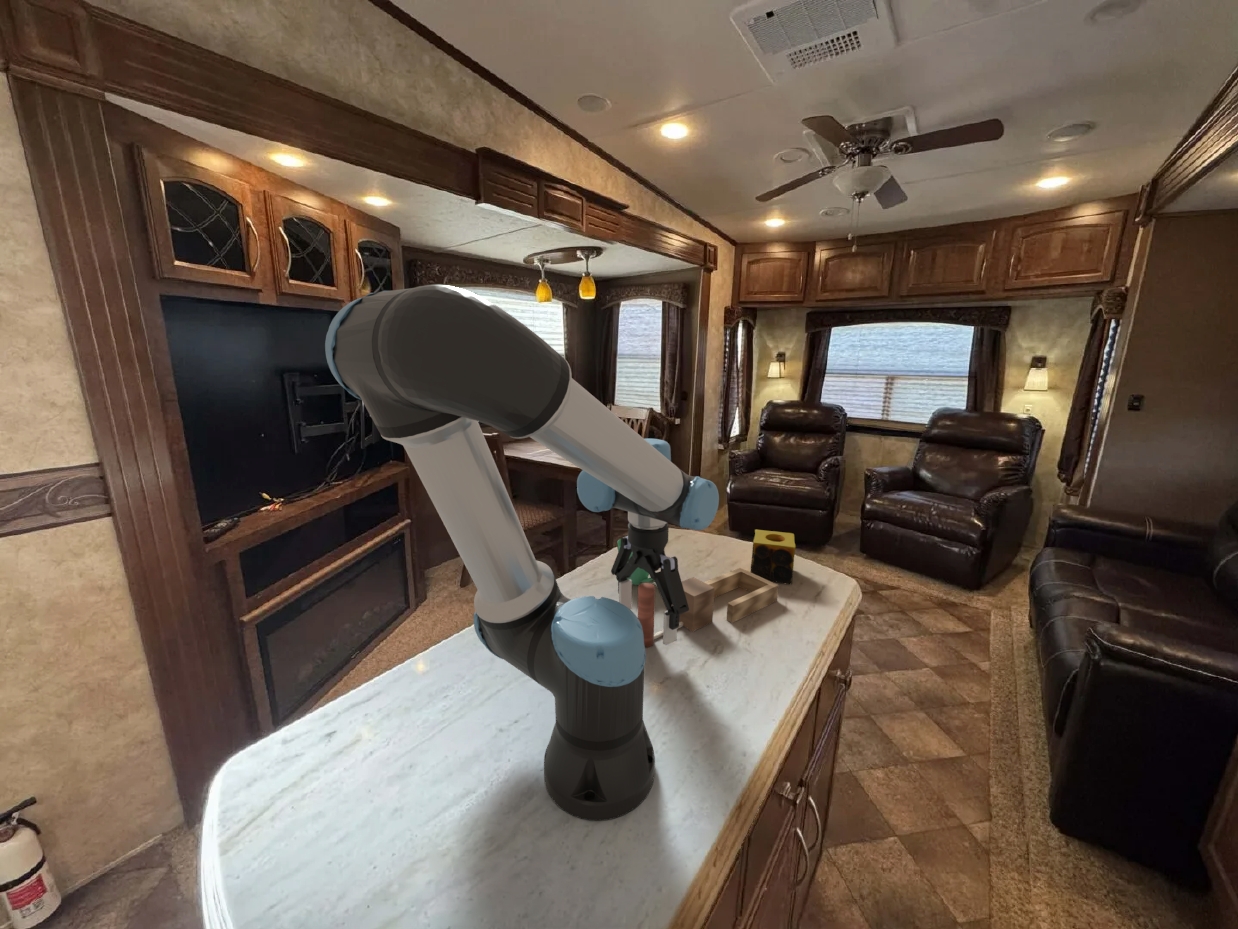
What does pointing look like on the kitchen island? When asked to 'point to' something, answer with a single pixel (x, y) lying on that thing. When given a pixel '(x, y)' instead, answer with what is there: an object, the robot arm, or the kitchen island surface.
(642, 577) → the mug
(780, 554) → the toy block
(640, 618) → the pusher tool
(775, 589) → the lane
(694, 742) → the kitchen island surface
